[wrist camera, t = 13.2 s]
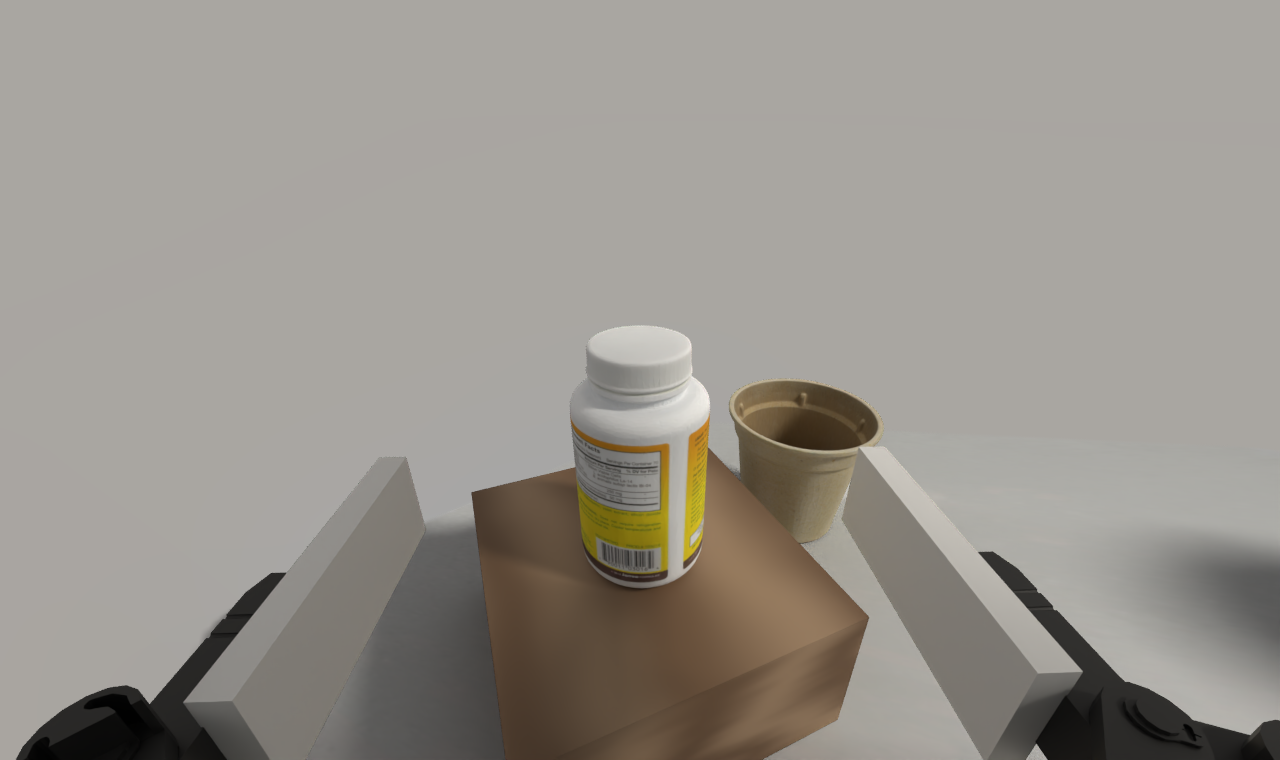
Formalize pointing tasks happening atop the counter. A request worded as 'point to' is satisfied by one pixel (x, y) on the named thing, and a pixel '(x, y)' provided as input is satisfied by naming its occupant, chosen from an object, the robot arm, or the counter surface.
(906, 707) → the counter surface
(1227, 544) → the counter surface
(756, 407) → the flower pot
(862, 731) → the counter surface
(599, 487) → the supplement bottle
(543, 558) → the block
